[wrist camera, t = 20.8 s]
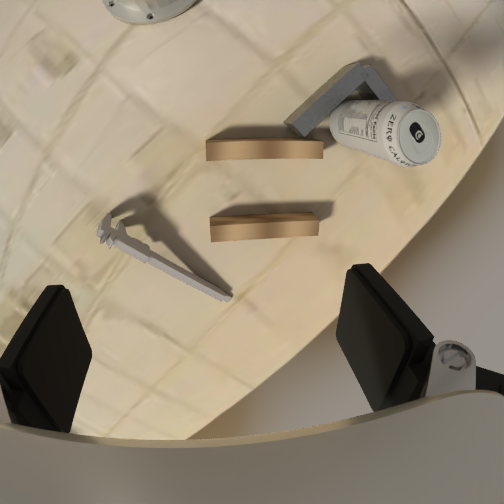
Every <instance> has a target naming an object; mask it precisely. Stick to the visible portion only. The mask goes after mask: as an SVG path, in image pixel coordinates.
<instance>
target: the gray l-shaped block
mask: <svg viewBox="0 0 504 504" xmlns="http://www.w3.org/2000/svg"><path fill="white" fill-rule="evenodd" d="M355 89H356V90H357V92H358V93H359V94H360V95H361V96H362V98H363V99H364V100H387V101H397V99H396V98H395V96H394V95H393V94H392V92H391V91H390V89H389V88H388V87H387V85H386V84H385V83H384V81H383V80H382V79H381V78H380V76H379V75H378V74H377V72H376V71H375V70H374V69H373V67H372V66H371V65H370V64H369V65H364V66H362V65H361V64H360V63H354V64H350V65H346V66H344V67H343V68H342V69H340V70H339V71H338V72H337V73H336V74H335V75H334V76H333V77H331V78H330V79H329V80H328V81H327V82H326V83H325V84H324V85H322V86H321V87H320V88H319V89H318V90H317V91H316V92H315V93H314V94H313V95H312V96H310V97H309V98H308V99H307V100H306V101H305V102H304V103H303V104H302V105H301V106H300V107H299V108H298V109H296V110H295V111H294V112H293V113H292V114H291V115H290V116H289V117H288V118H287V119H286V120H285V121H284V123H285V124H286V125H287V126H288V127H289V129H290V130H291V131H292V132H293V133H294V134H297V135H300V136H303V137H305V136H306V135H307V134H308V133H309V132H310V131H311V130H312V129H313V128H314V127H315V126H317V125H318V124H319V123H320V122H321V121H322V120H323V119H324V118H325V117H326V116H327V115H328V114H329V113H330V112H331V111H332V110H333V109H334V108H336V107H337V106H338V105H339V104H340V103H341V102H342V101H343V100H344V99H345V98H346V97H347V96H348V95H350V94H351V93H352V92H353V91H354V90H355Z"/></svg>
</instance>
